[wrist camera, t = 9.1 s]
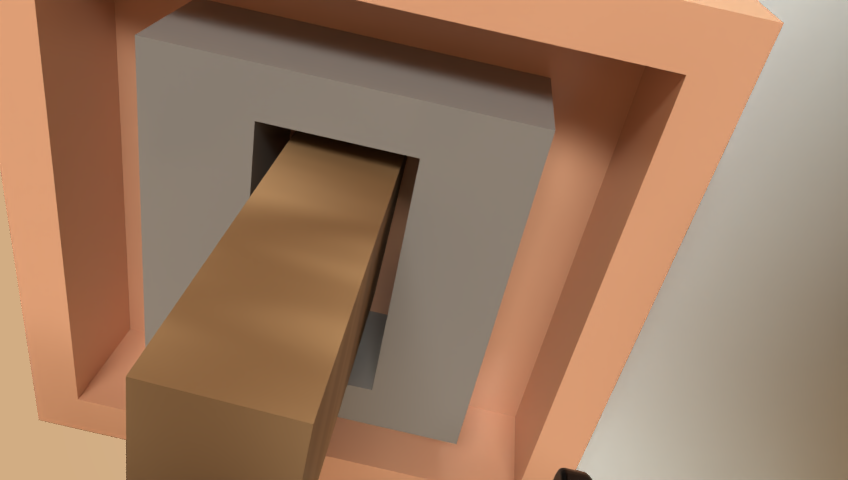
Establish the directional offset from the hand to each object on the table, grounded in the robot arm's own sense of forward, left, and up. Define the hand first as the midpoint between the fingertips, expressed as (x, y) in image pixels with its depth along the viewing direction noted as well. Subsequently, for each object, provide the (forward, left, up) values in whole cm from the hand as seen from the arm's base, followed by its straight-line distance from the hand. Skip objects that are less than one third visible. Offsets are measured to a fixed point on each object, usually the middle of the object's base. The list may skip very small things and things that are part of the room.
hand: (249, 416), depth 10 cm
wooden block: (0, 0, -6) cm, 6 cm away
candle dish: (0, 0, -7) cm, 7 cm away
